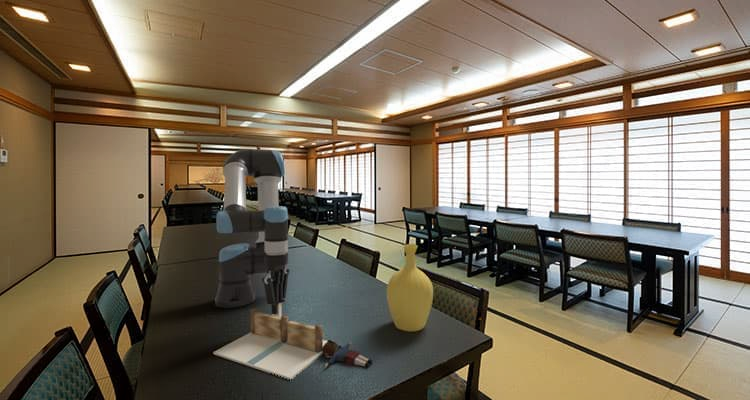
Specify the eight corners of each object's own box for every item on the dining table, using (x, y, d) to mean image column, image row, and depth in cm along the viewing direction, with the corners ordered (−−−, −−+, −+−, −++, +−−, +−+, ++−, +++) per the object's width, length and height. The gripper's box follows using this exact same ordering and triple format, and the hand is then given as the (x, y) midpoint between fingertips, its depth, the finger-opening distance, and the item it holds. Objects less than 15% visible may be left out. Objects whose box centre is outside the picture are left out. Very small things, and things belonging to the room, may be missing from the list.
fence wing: (290, 339, 101) (289, 316, 100) (285, 342, 99) (285, 318, 98) (254, 329, 107) (254, 308, 107) (249, 332, 105) (249, 310, 105)
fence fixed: (286, 343, 98) (286, 320, 98) (291, 340, 100) (291, 317, 100) (319, 352, 93) (319, 328, 93) (324, 349, 95) (324, 325, 95)
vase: (427, 339, 104) (429, 251, 102) (380, 330, 109) (380, 248, 108) (436, 319, 119) (437, 243, 117) (394, 312, 124) (394, 240, 123)
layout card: (213, 354, 94) (213, 351, 94) (264, 326, 112) (264, 324, 112) (290, 380, 82) (290, 377, 82) (334, 344, 100) (334, 342, 100)
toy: (380, 357, 95) (336, 343, 101) (381, 342, 94) (337, 328, 101) (357, 384, 82) (309, 366, 88) (359, 366, 82) (309, 349, 88)
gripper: (277, 248, 116) (277, 313, 117) (254, 256, 103) (255, 329, 104) (296, 249, 114) (296, 315, 115) (275, 257, 101) (275, 332, 102)
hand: (276, 322), depth 110 cm, fingers closed
